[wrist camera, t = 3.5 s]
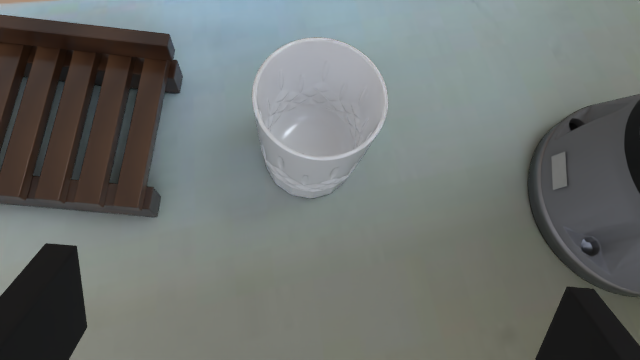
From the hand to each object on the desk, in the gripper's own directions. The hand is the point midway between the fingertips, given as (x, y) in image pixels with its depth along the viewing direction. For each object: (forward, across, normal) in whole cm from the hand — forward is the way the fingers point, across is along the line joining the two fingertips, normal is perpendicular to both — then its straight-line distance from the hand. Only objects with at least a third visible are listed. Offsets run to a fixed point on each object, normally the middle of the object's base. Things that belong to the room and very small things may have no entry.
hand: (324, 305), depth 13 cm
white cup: (+24, 0, -6) cm, 25 cm away
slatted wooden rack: (+24, -18, -6) cm, 30 cm away
